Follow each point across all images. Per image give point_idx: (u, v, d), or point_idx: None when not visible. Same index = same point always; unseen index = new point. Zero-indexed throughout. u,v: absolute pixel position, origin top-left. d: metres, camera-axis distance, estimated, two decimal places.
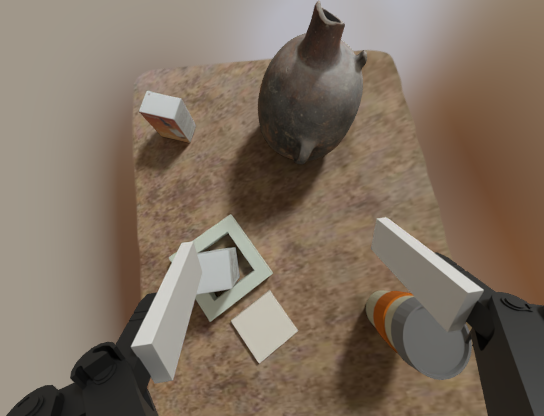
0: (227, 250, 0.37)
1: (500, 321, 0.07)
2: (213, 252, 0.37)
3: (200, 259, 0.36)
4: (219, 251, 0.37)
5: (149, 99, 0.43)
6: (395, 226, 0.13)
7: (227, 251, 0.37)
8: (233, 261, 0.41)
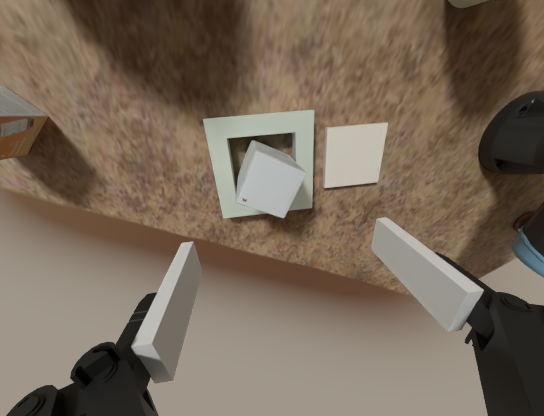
0: (256, 152, 0.23)
1: (500, 321, 0.07)
2: (248, 172, 0.24)
3: (248, 192, 0.25)
4: (251, 164, 0.24)
5: None
6: (395, 226, 0.13)
7: (258, 153, 0.23)
8: (272, 152, 0.28)
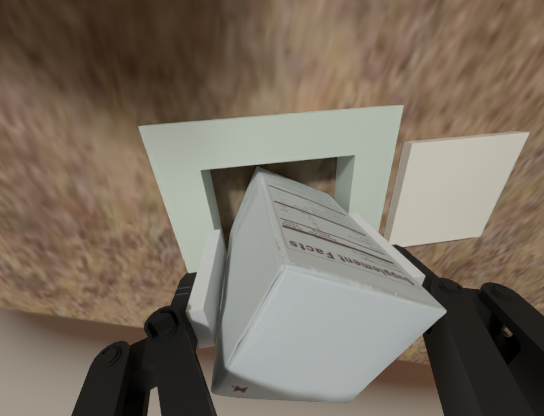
0: (288, 270, 0.06)
1: None
2: (254, 326, 0.07)
3: (253, 373, 0.08)
4: (266, 304, 0.06)
5: None
6: (362, 221, 0.14)
7: (293, 273, 0.06)
8: (315, 217, 0.10)
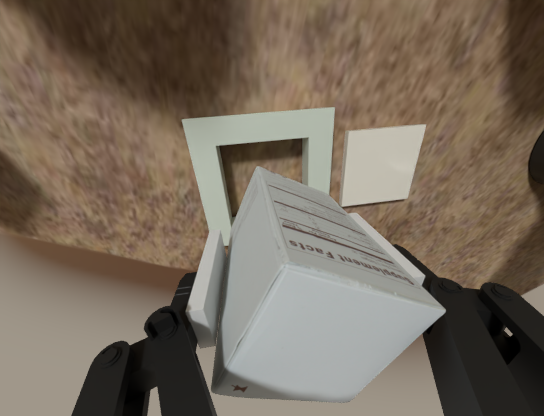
0: (287, 270, 0.06)
1: None
2: (254, 326, 0.07)
3: (253, 372, 0.08)
4: (266, 303, 0.06)
5: None
6: (362, 220, 0.14)
7: (293, 272, 0.06)
8: (314, 217, 0.10)
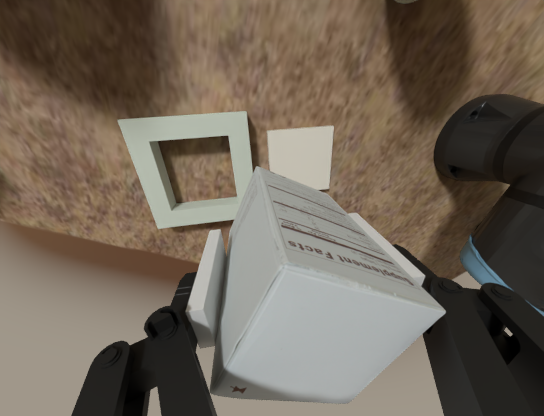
0: (286, 271, 0.06)
1: None
2: (253, 327, 0.07)
3: (251, 374, 0.08)
4: (265, 304, 0.06)
5: None
6: (362, 220, 0.14)
7: (291, 273, 0.06)
8: (314, 217, 0.10)
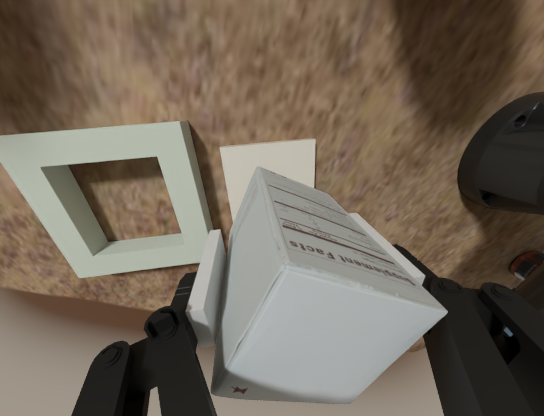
0: (288, 271, 0.06)
1: None
2: (254, 327, 0.07)
3: (253, 374, 0.08)
4: (266, 305, 0.06)
5: None
6: (362, 221, 0.14)
7: (293, 273, 0.06)
8: (315, 217, 0.10)
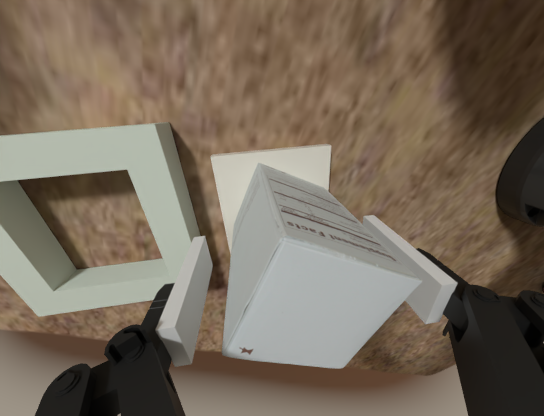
0: (285, 242, 0.07)
1: (473, 313, 0.08)
2: (258, 292, 0.08)
3: (257, 336, 0.09)
4: (268, 272, 0.08)
5: None
6: (381, 223, 0.14)
7: (289, 244, 0.07)
8: (310, 206, 0.12)
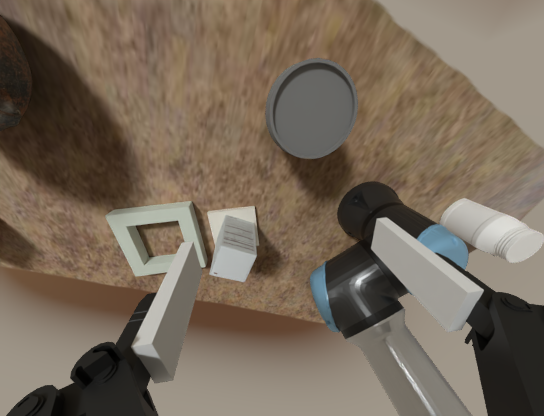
0: (221, 246, 0.35)
1: (500, 321, 0.07)
2: (217, 257, 0.36)
3: (217, 268, 0.37)
4: (218, 252, 0.36)
5: None
6: (395, 226, 0.13)
7: (222, 246, 0.35)
8: (235, 235, 0.40)
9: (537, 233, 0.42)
